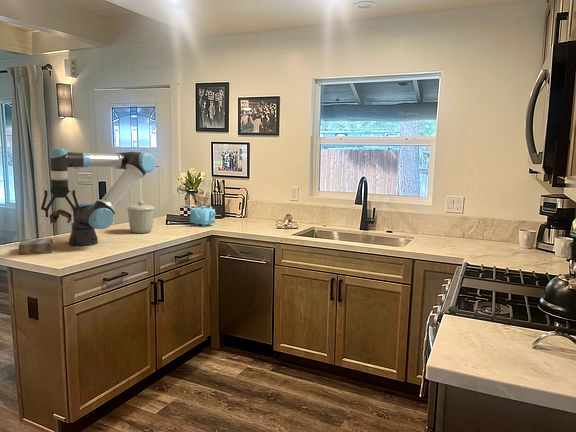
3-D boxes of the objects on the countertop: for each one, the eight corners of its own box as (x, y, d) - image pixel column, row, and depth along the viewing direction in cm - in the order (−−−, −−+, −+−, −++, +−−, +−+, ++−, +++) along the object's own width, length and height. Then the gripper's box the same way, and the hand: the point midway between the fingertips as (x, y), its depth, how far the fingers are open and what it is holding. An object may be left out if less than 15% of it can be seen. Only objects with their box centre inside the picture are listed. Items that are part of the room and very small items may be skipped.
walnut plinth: (52, 247, 227) (52, 238, 226) (51, 253, 215) (51, 243, 214) (22, 248, 221) (21, 239, 220) (18, 254, 209) (18, 245, 208)
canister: (127, 229, 287) (127, 199, 284) (155, 229, 293) (155, 199, 290) (126, 234, 270) (125, 202, 267) (155, 234, 276) (155, 202, 273)
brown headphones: (53, 222, 221) (62, 208, 222) (68, 231, 220) (77, 217, 221) (40, 219, 209) (49, 205, 210) (56, 228, 208) (65, 214, 209)
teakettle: (216, 227, 314) (217, 207, 312) (191, 227, 307) (191, 207, 305) (211, 223, 331) (212, 204, 329) (187, 223, 324) (187, 204, 322)
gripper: (83, 178, 220) (84, 221, 223) (33, 178, 209) (35, 222, 212) (84, 180, 213) (85, 223, 217) (33, 179, 202) (35, 225, 206)
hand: (61, 223), depth 214 cm, fingers closed on brown headphones, 10 cm apart
